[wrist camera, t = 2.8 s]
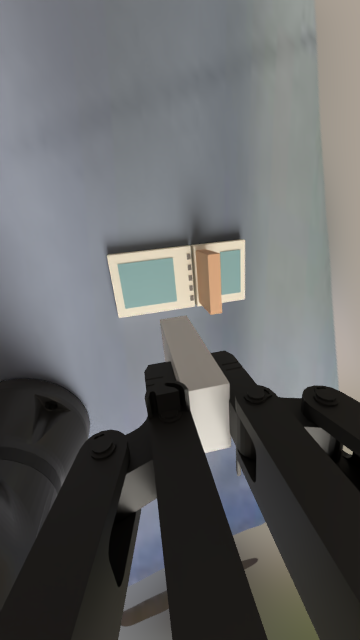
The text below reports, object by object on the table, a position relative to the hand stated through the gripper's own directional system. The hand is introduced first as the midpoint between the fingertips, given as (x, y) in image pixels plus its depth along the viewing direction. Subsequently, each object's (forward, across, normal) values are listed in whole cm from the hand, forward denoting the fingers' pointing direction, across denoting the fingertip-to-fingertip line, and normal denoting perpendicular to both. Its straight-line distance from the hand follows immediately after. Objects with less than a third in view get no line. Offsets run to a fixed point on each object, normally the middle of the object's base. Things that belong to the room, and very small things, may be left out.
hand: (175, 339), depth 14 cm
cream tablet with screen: (+17, 0, 0) cm, 17 cm away
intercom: (+17, +8, 0) cm, 19 cm away
